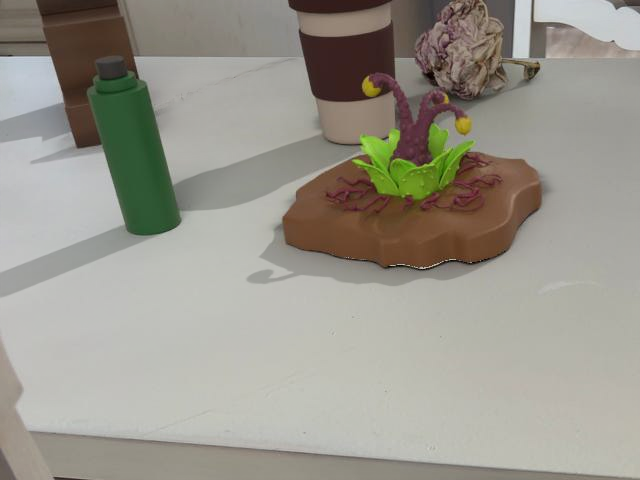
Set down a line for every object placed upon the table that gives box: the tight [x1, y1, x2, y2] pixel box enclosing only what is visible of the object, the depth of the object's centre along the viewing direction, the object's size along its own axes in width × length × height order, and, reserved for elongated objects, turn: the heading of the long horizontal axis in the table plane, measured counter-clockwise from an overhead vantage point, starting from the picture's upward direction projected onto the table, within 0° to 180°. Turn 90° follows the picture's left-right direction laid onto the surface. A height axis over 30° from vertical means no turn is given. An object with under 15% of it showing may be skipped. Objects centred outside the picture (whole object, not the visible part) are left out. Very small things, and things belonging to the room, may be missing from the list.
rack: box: [35, 0, 140, 149], centre depth 105 cm, size 13×8×12 cm, turn 20°
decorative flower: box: [413, 0, 541, 101], centre depth 108 cm, size 10×10×15 cm
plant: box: [281, 72, 543, 268], centre depth 80 cm, size 20×20×11 cm
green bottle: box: [87, 56, 182, 236], centre depth 82 cm, size 5×5×13 cm
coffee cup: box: [287, 0, 397, 145], centre depth 97 cm, size 10×10×15 cm
